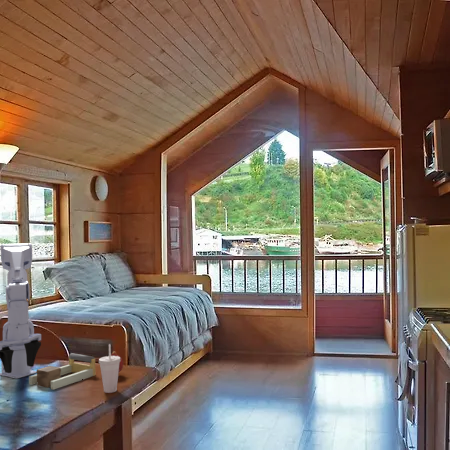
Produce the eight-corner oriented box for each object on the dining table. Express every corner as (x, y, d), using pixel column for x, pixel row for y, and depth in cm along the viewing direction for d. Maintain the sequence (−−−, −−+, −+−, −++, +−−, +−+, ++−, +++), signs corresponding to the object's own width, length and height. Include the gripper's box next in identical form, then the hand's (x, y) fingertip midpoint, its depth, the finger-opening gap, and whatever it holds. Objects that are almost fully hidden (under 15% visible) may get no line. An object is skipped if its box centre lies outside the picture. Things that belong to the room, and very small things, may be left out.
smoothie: (101, 395, 152) (100, 347, 152) (97, 389, 158) (96, 343, 158) (123, 392, 154) (122, 344, 154) (118, 386, 160) (117, 340, 160)
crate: (36, 385, 163) (36, 369, 163) (50, 381, 168) (49, 365, 168) (47, 388, 160) (47, 371, 160) (61, 383, 165) (60, 367, 165)
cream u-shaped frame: (29, 384, 165) (28, 364, 165) (72, 370, 179) (72, 352, 179) (53, 389, 159) (52, 369, 158) (96, 374, 173) (96, 356, 173)
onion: (119, 378, 168) (118, 354, 168) (102, 378, 169) (101, 353, 169) (126, 373, 174) (125, 349, 174) (109, 373, 175) (109, 349, 175)
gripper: (5, 328, 147) (6, 377, 147) (47, 320, 159) (48, 365, 159) (-11, 326, 151) (-9, 374, 151) (32, 318, 163) (33, 362, 163)
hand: (19, 369), depth 155 cm, fingers open, 7 cm apart
